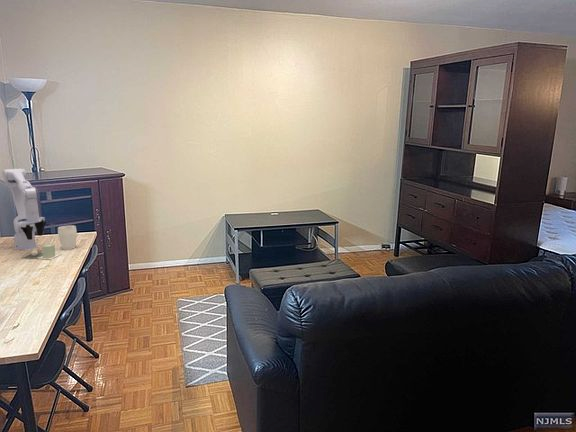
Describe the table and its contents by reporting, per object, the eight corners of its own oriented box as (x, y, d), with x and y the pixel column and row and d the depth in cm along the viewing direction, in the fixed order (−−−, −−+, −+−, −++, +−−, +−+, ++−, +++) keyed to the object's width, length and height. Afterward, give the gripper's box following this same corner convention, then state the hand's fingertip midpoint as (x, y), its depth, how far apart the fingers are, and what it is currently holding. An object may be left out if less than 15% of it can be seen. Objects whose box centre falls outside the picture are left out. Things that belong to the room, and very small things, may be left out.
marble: (30, 256, 215) (29, 250, 214) (34, 254, 218) (33, 249, 217) (35, 256, 215) (34, 251, 214) (39, 255, 218) (38, 249, 217)
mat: (21, 259, 213) (21, 257, 212) (33, 253, 221) (33, 252, 221) (50, 260, 211) (50, 259, 211) (62, 255, 219) (62, 254, 219)
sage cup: (40, 257, 213) (39, 246, 212) (47, 254, 218) (46, 243, 217) (50, 258, 212) (49, 246, 211) (57, 254, 218) (56, 243, 216)
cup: (72, 251, 227) (70, 229, 224) (56, 250, 227) (53, 229, 224) (81, 246, 235) (79, 225, 233) (65, 245, 236) (63, 225, 233)
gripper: (28, 215, 207) (32, 241, 210) (48, 209, 221) (51, 234, 224) (15, 214, 208) (19, 241, 211) (36, 208, 222) (39, 233, 225)
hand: (35, 237), depth 217 cm, fingers open, 7 cm apart
